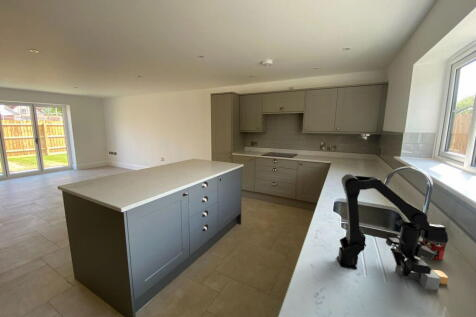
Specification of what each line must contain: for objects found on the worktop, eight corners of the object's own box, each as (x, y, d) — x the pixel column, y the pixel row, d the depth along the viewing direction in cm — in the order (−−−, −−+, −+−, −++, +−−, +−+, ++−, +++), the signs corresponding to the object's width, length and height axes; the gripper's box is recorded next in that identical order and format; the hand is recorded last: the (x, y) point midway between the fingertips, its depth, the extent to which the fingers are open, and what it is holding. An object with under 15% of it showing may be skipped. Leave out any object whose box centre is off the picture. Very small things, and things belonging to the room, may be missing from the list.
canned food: (416, 251, 97) (420, 231, 95) (426, 248, 99) (430, 228, 97) (436, 262, 90) (441, 239, 88) (446, 258, 92) (451, 236, 90)
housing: (425, 288, 75) (428, 276, 74) (405, 266, 86) (407, 256, 85) (437, 290, 74) (440, 278, 73) (416, 267, 85) (418, 257, 85)
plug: (400, 277, 80) (401, 270, 79) (395, 270, 83) (396, 264, 83) (447, 284, 77) (448, 277, 76) (439, 277, 80) (441, 271, 80)
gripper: (453, 256, 68) (443, 295, 71) (416, 228, 86) (410, 260, 89) (416, 250, 70) (408, 289, 73) (388, 225, 88) (382, 256, 91)
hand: (402, 272), depth 81 cm, fingers closed on plug, 4 cm apart
